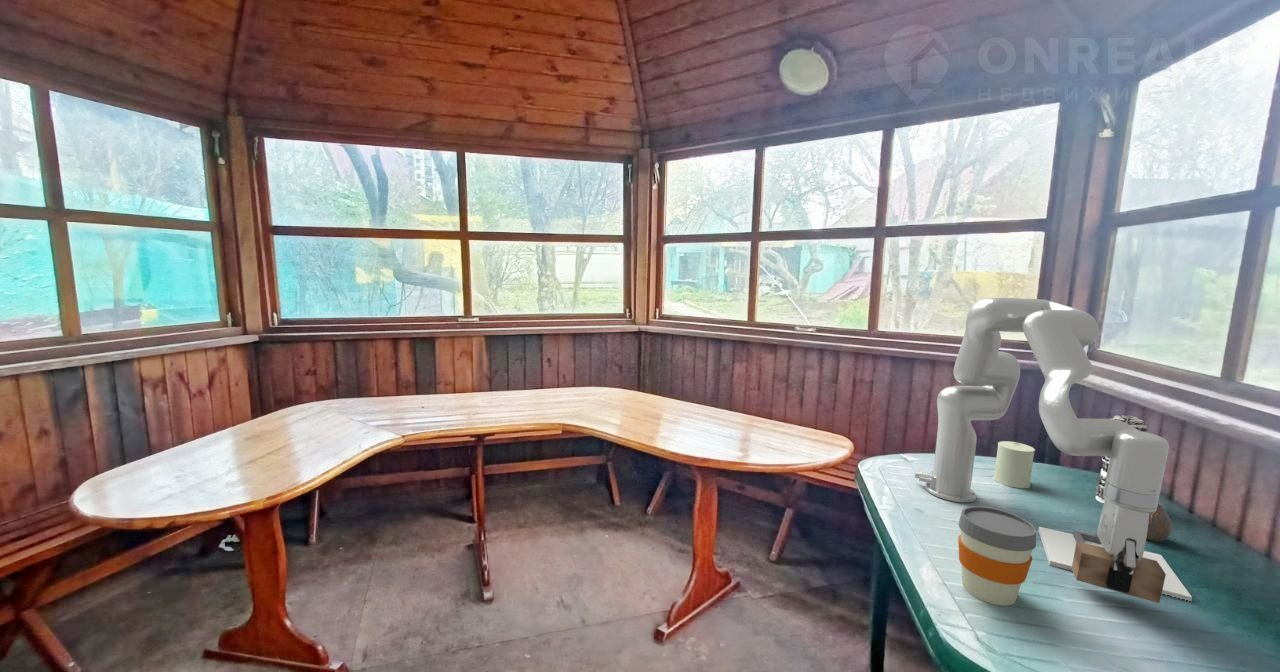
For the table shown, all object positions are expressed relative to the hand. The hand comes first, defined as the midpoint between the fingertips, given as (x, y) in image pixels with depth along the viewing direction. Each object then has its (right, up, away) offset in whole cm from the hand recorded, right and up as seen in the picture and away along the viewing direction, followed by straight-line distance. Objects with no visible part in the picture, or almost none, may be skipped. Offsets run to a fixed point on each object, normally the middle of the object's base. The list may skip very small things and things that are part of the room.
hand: (1113, 580), depth 100 cm
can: (+21, +3, +56) cm, 60 cm away
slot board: (+11, -2, +13) cm, 17 cm away
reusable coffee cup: (-24, -3, +2) cm, 24 cm away
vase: (+32, -1, +25) cm, 40 cm away
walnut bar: (0, -1, 0) cm, 1 cm away
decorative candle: (+41, +1, +43) cm, 60 cm away
